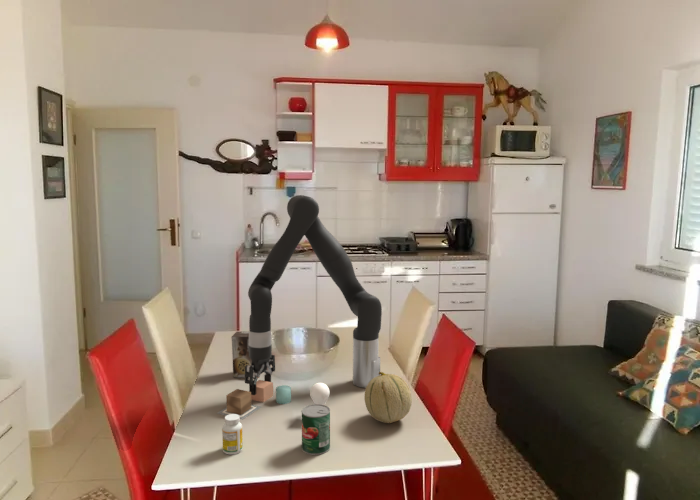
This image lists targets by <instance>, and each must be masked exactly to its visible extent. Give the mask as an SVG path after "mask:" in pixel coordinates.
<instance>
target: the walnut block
mask: <svg viewBox="0 0 700 500" xmlns="http://www.w3.org/2000/svg"><path fill="white" fill-rule="evenodd" d="M225 396H226V407H227V412H230V413H234V414H238V415H242V414H243V413H245V412H246V411H248V410H249V409H251V405H252V400H251V392H249V390H244V389H239V388H236V389H233V391H232V392H229V393H227V394H226V395H225Z"/></svg>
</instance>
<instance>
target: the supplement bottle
mask: <svg viewBox="0 0 700 500" xmlns="http://www.w3.org/2000/svg"><path fill="white" fill-rule="evenodd" d="M240 421H241V419H240V416H239V415H237V414H229V415H227V416H225V415H224V423H223V425H222V427H221V428H222V429H221V431H222V451H223V453H224V454H227V455H228V456H229V455H238V454H239V453H241V451H242V449H244V448H243V447H244V446H243V443H244V442H243V424H242V423H241V422H240Z"/></svg>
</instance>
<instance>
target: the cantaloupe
mask: <svg viewBox="0 0 700 500" xmlns="http://www.w3.org/2000/svg"><path fill="white" fill-rule="evenodd" d="M379 374H380V375H379V376H377V377H375V378H373V379H372V380H371V381H370V382H369V383H368V385H367V387H366V388H365V391H364V403H365V404H364V405H365V407H366V411H367V412H368V414H369V415H370V416H371V417H372V418H373V419H375V420H376V421H378V422H381V423H383V424H384V423H385V424H391V423H395V422H397V421H401V420H403V419H404V418H405V417H406V416H407V415H408V414H409V412H410V410H411V407H412V399H413V398H412V392H411V389H410V387H409V385H408V383H407V382H406V381H405V379H403V377H401V376H399V375H396V374H395V373H394V374H392V373H385V372H382V371H380V372H379Z"/></svg>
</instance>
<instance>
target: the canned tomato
mask: <svg viewBox="0 0 700 500" xmlns="http://www.w3.org/2000/svg"><path fill="white" fill-rule="evenodd" d="M300 412H301V451H302V452H304V453H305V454H307V455H311V456H313V455H314V456H317V455H318V456H320V455H323V454H325V453H327V452H328V451H330V448H331V409H330V407H329V406H327V405H326V404H325V405H321V404H314V403H313V404H308V405H306V406H303V408H302V409H301V411H300Z"/></svg>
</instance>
